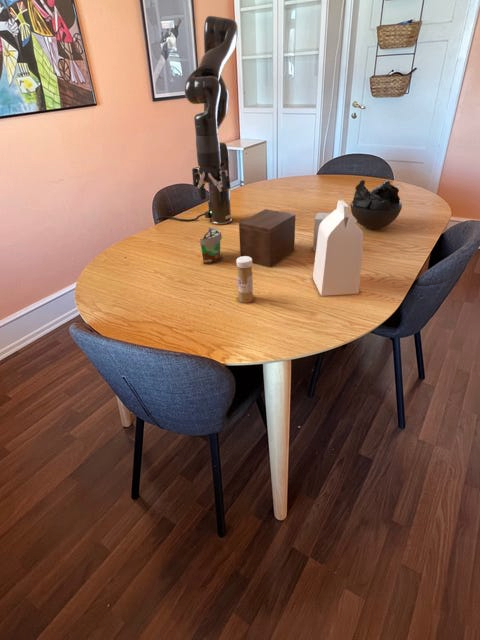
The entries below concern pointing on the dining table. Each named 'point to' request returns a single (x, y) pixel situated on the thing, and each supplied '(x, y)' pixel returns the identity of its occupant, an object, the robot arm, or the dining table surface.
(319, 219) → the white packaging box
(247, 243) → the dark wooden box
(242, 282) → the sprinkles bottle
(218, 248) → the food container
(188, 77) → the robot arm
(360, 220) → the bowl of black rocks
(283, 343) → the dining table surface
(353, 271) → the milk
